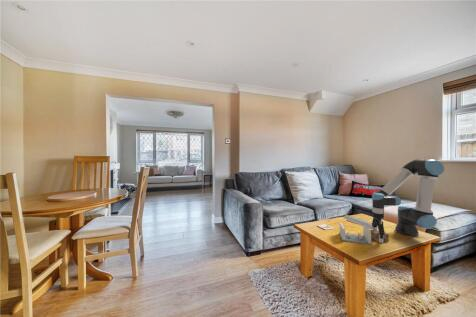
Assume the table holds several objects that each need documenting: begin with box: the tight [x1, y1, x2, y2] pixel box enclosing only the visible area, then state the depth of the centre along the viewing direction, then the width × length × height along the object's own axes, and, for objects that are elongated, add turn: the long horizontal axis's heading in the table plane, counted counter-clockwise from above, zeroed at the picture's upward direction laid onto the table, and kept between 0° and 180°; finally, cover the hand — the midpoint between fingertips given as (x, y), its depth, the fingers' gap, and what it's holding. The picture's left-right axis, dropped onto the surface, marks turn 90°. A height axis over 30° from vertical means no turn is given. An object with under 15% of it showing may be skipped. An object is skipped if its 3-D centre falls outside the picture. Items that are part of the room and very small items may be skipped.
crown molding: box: [343, 214, 378, 230], centre depth 184 cm, size 31×12×4 cm, turn 15°
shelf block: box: [369, 229, 389, 242], centre depth 149 cm, size 12×6×6 cm, turn 77°
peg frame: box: [338, 222, 373, 246], centre depth 149 cm, size 20×14×10 cm
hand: (377, 238), depth 149 cm, fingers open, 12 cm apart
